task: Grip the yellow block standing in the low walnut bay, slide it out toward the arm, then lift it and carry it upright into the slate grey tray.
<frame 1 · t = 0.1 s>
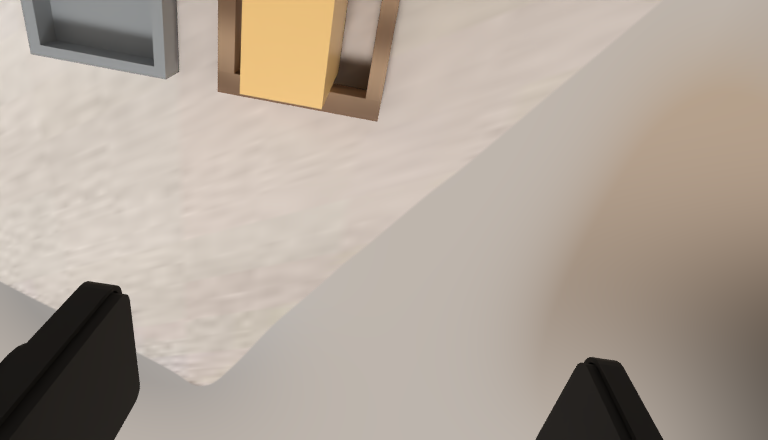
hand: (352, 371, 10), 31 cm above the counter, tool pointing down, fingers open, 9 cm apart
walnut bay: (313, 4, 35), on the counter
yellow block: (302, 7, 30), in the walnut bay
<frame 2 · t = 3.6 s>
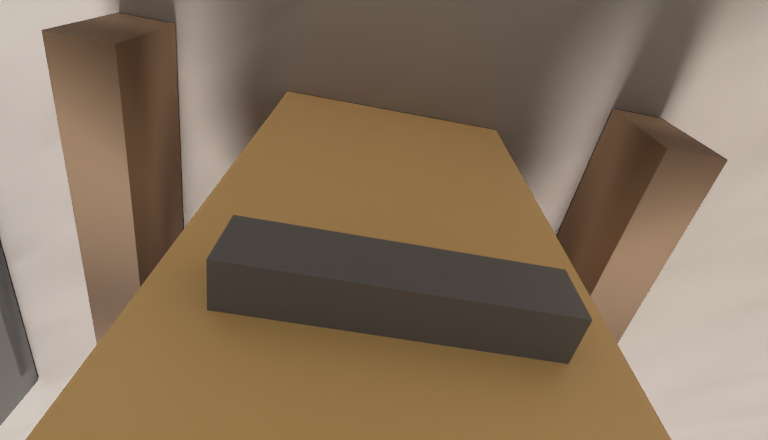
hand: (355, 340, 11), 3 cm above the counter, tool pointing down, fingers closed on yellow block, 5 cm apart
walnut bay: (363, 264, 13), on the counter
yellow block: (350, 407, 9), in the walnut bay, touching gripper
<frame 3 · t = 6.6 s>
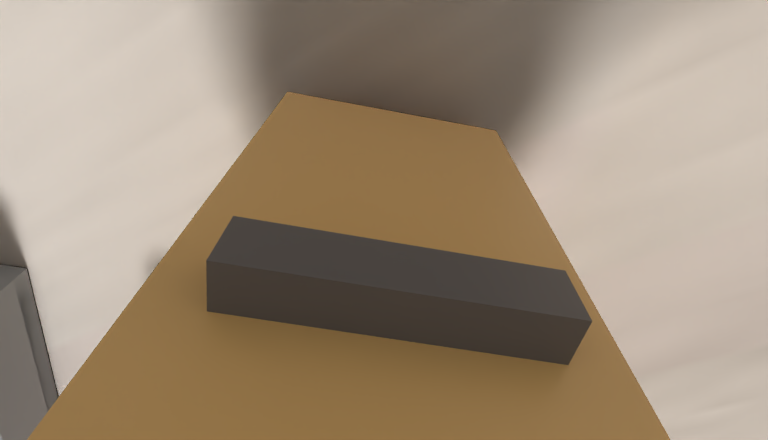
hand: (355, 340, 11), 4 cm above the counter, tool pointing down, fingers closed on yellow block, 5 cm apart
yellow block: (350, 407, 9), point 6 cm above the counter, touching gripper
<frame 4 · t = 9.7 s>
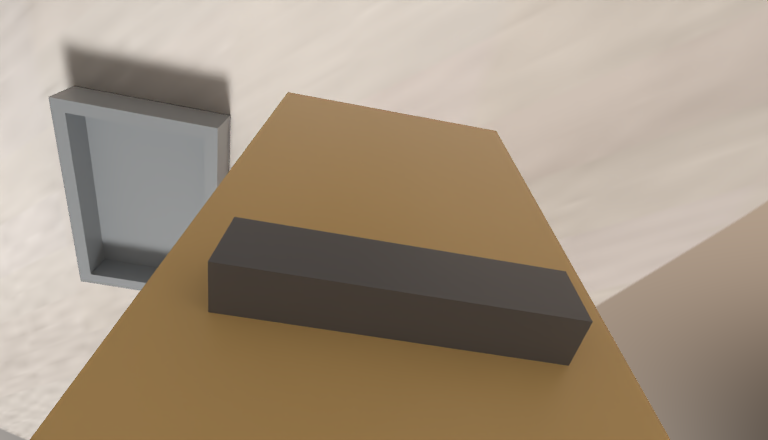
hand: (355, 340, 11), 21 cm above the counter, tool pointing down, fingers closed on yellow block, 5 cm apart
grey tray: (158, 195, 33), on the counter
yellow block: (351, 408, 9), point 24 cm above the counter, touching gripper
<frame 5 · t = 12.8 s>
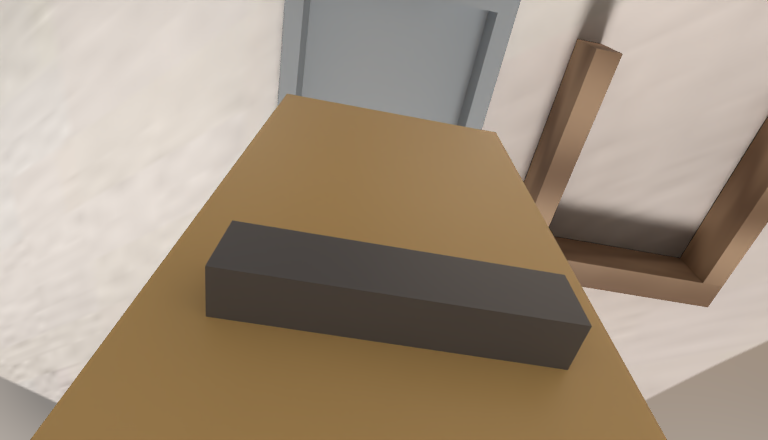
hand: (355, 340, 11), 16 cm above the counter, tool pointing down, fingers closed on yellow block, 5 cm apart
grey tray: (379, 114, 25), on the counter
walnut bay: (645, 163, 26), on the counter
yellow block: (350, 410, 9), point 18 cm above the counter, touching gripper
when the fingers open (5 cm above the counter, at t = 15.7 s): yellow block drops 1 cm, resting on grey tray.
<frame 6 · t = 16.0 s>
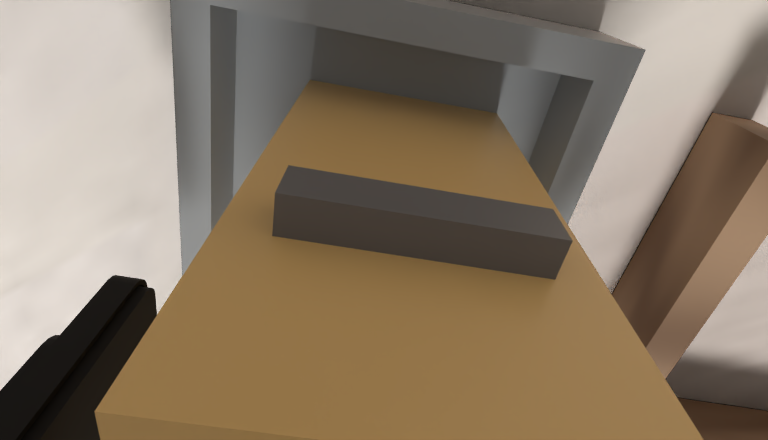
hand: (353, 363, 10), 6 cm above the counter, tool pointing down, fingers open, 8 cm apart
grey tray: (366, 227, 15), on the counter
yellow block: (371, 352, 10), in the grey tray, point 6 cm above the counter
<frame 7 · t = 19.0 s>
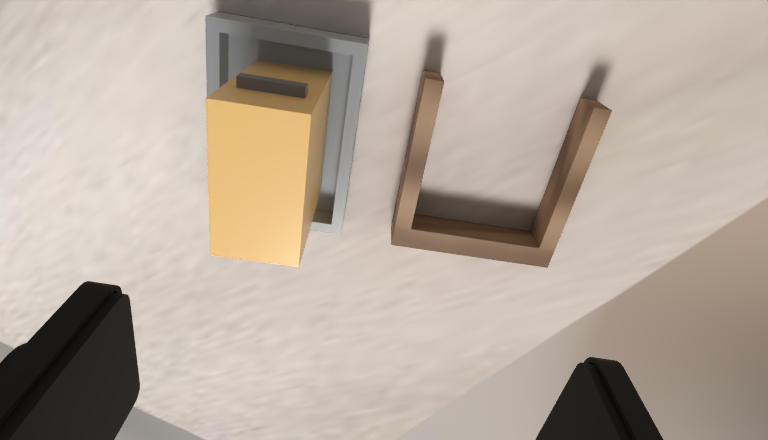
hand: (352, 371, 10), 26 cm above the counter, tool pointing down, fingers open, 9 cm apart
grey tray: (288, 126, 34), on the counter
walnut bay: (489, 159, 35), on the counter
yellow block: (276, 151, 29), in the grey tray, point 6 cm above the counter
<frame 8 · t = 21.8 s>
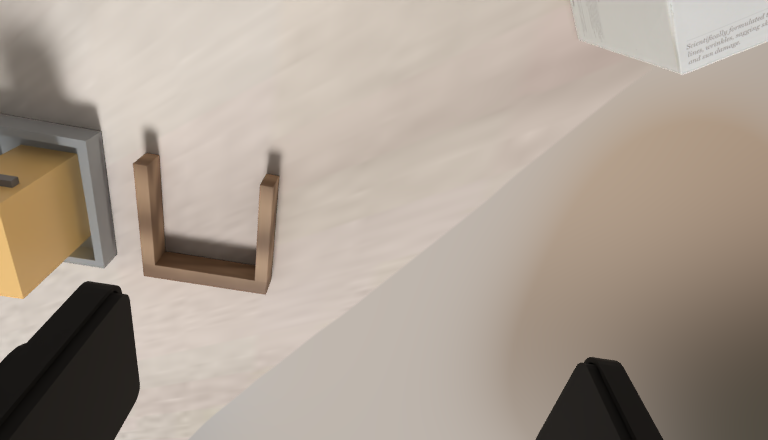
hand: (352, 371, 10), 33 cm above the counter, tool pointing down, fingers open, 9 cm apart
grey tray: (58, 188, 45), on the counter
walnut bay: (213, 214, 47), on the counter
yellow block: (21, 215, 40), in the grey tray, point 6 cm above the counter
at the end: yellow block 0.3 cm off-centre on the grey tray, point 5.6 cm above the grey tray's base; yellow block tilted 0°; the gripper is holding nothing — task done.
